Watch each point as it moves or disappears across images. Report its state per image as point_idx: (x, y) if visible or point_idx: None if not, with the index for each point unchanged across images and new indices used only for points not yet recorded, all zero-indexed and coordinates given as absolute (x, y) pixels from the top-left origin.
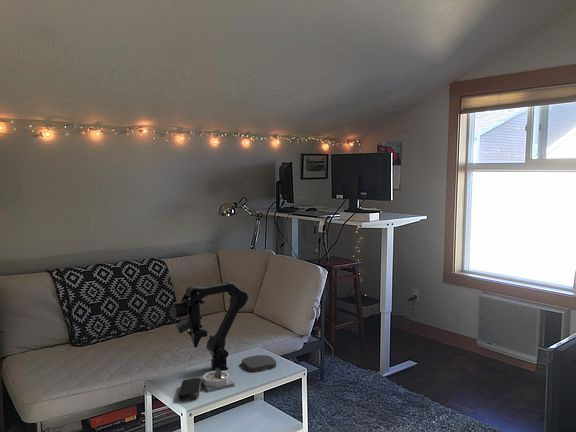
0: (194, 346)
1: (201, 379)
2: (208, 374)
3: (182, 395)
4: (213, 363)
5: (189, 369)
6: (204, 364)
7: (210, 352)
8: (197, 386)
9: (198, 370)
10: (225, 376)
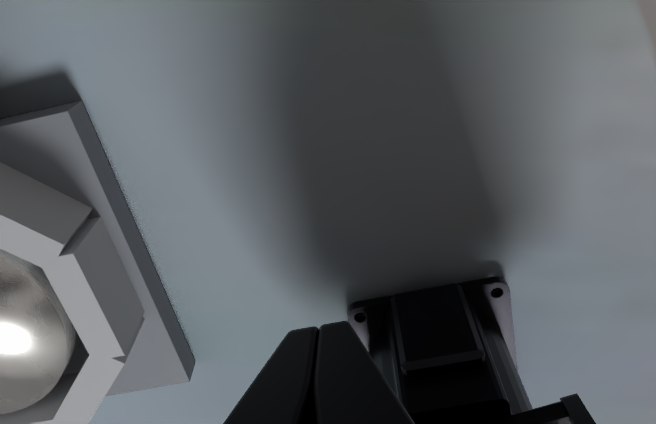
0: (272, 358)
1: (56, 143)
2: (39, 255)
3: None
4: (398, 349)
5: (578, 9)
6: (650, 217)
7: (571, 420)
8: None
9: (479, 129)
10: None
